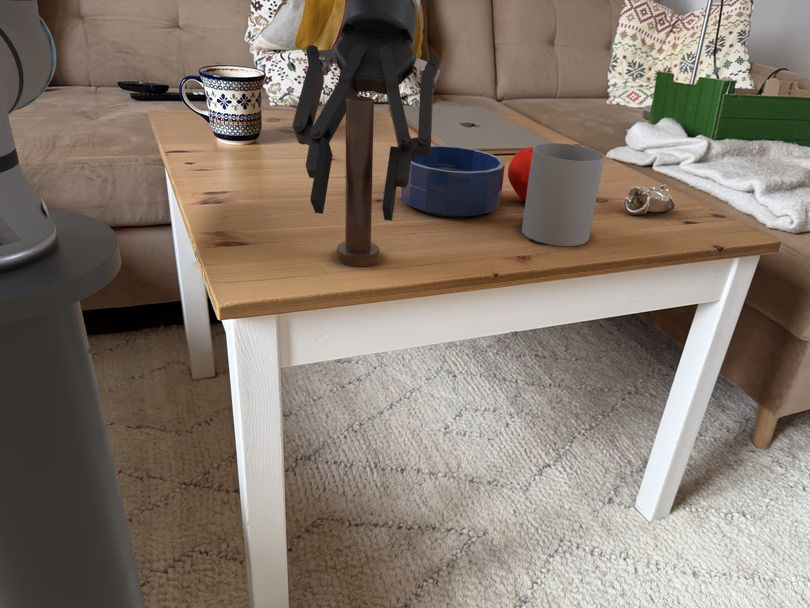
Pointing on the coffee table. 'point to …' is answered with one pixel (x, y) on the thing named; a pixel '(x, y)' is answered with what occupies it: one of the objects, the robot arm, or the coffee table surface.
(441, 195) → the bowl
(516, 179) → the apple
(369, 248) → the cylinder with round base
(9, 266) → the robot arm
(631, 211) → the ornament
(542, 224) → the cup
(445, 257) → the coffee table surface
